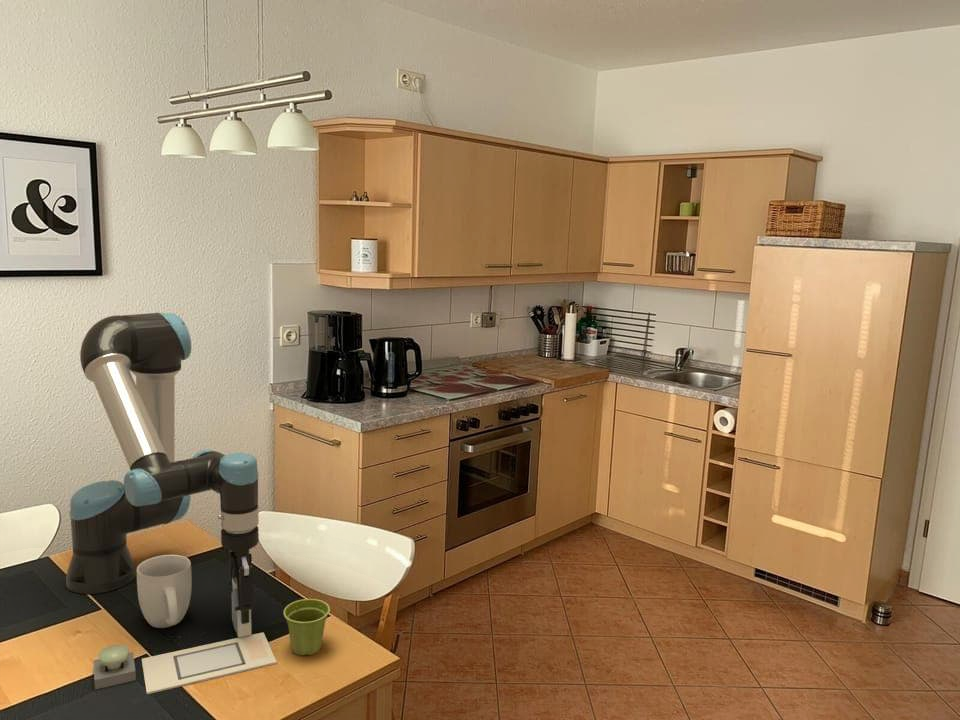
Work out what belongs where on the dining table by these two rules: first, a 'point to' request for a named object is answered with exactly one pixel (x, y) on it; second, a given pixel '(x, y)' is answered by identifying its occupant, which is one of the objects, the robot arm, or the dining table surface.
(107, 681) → the button housing
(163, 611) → the mug
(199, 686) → the dining table surface
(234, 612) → the square grey prism
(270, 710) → the dining table surface
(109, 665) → the button
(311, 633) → the plant pot
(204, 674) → the sheet
